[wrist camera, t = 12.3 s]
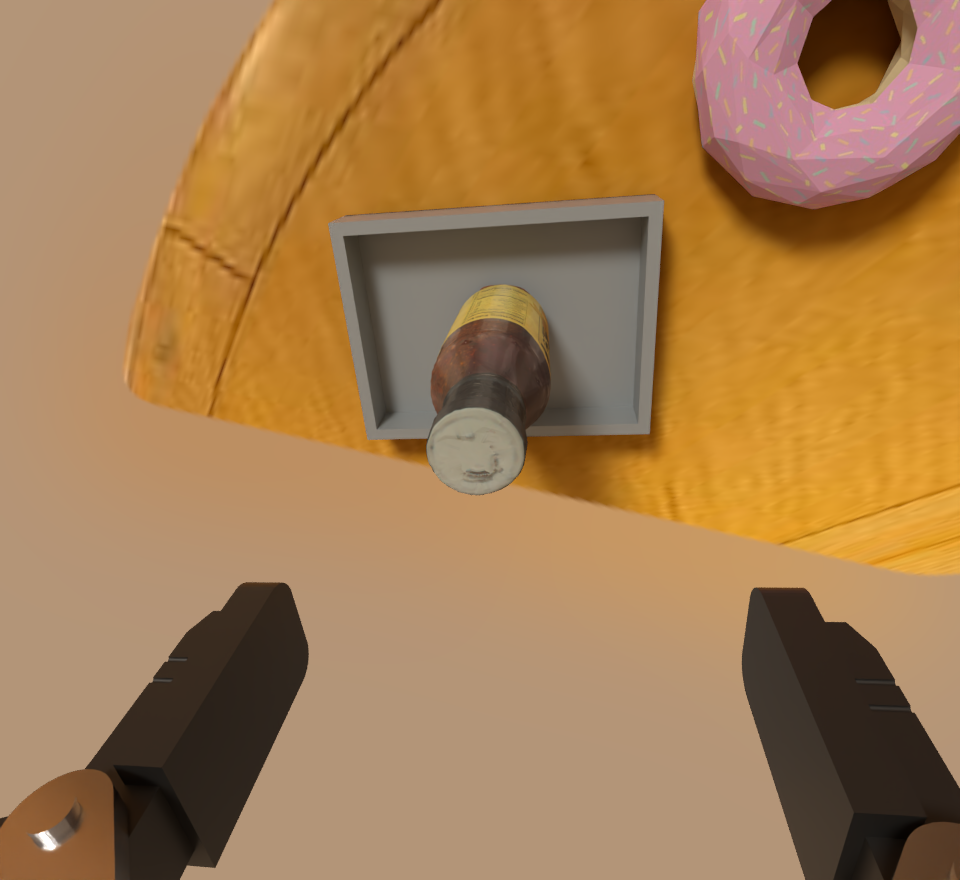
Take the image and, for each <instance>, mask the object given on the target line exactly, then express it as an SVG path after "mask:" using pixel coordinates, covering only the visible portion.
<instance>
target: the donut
mask: <svg viewBox="0 0 960 880" xmlns="http://www.w3.org/2000/svg"><path fill="white" fill-rule="evenodd" d="M830 1H831V0H706V2H705V3H704V5H703V6H702V8H701V9H700V11H699V16H698V35H697V54H696V62H695V67H694V73H693V79H692V82H693V87H694V91H695V96H696V101H697V106H698V112H699V122H700V131H701V141H702V147H703V148H704V149H705V150H706V151H707V152H708V153H709V154H710V155H711V156H712V157H713V158H714V159H715V160H716V161H717V162H718V163H719V164H720V165H721V166H722V167H723V168H724V169H725V170H726V171H727V172H728V173H729V174H730V175H731V176H732V177H733V178H734V179H735V180H736V181H737V182H738V183H739V184H740V185H742V186H743V187H744V188H745V189H746V190H747V191H748V192H749V193H750V194H751V195H752V196H754V197H759V198H763V199H768V200H773V201H777V202H782V203H786V204H791V205H796V206H800V207H805V208H809V209H818V208H822V207H827V206H832V205H837V204H841V203H846V202H851V201H856V200H861V199H865V198H869V197H871V196H873V195H875V194H877V193H879V192H881V191H883V190H884V189H886V188H888V187H890V186H891V185H893V184H895V183H897V182H898V181H900V180H902V179H904V178H905V177H907V176H909V175H910V174H912V173H914V172H916V171H917V170H919V169H921V168H923V167H924V166H926V165H928V164H930V163H931V162H933V161H935V160H936V159H937V158H938V157H939V156H940V154H941V153H942V152H943V151H944V150H945V149H946V148H947V147H948V146H949V145H950V144H951V142H952V141H953V140H954V139H955V138H956V137H957V136H958V135H959V134H960V0H887V1H888V4H889V7H890V9H891V12H892V15H893V18H894V21H895V24H896V27H897V30H898V32H899V35H900V38H901V42H900V44H899V46H898V48H897V50H896V52H895V54H894V56H893V59H892V61H891V63H890V65H889V67H888V69H887V71H886V73H885V75H884V77H883V79H882V81H881V83H880V85H879V87H878V90H877V91H876V93H875V94H873V95H872V96H870V97H868V98H867V99H865V100H863V101H862V102H860V103H858V104H855V105H851V106H847V107H843V108H839V109H835V110H834V109H832V108H829V107H827V106H825V105H822V104H820V103H818V102H815V101H813V100H811V98H810V95H809V92H808V90H807V87H806V85H805V82H804V79H803V77H802V74H801V72H800V69H799V67H798V64H797V63H798V60H799V57H800V54H801V51H802V48H803V45H804V42H805V39H806V37H807V34H808V31H809V28H810V25H811V22H812V19H813V17H814V16H815V15H816V14H817V13H818V12H819V11H820V10H822V9H823V8H824V7H825V6H826V5H827V4H828V3H829V2H830Z"/></svg>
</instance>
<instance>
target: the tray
mask: <svg viewBox="0 0 960 880" xmlns="http://www.w3.org/2000/svg"><path fill="white" fill-rule="evenodd" d="M663 209H664V200H662V199H661V198H659V197H658V196H656V195H655V194H652V195H637V196H623V197H608V198H594V199H579V200H565V201H550V202H536V203H521V204H507V205H492V206H478V207H463V208H449V209H434V210H420V211H405V212H391V213H376V214H361V215H347V216H343V217H341V218H339V219H337V220H334V221H332V222H330V223H328V225H329V230H330V236H331V241H332V247H333V252H334V258H335V263H336V269H337V274H338V280H339V285H340V291H341V296H342V302H343V307H344V313H345V318H346V323H347V329H348V334H349V340H350V345H351V351H352V356H353V362H354V367H355V373H356V378H357V384H358V389H359V395H360V400H361V406H362V411H363V417H364V422H365V428H366V433H367V439H368V440H377V439H427V438H428V435H429V432H430V429H431V427H432V424H433V421H434V418H435V417H436V416H437V413H436V410H435V408H434V406H433V403H432V398H431V388H430V387H431V376H432V370H433V368H434V364H435V363H436V360H437V357H438V354H439V352H440V350H441V347H442V345H443V343H444V341H445V339H446V337H447V335H448V333H449V331H450V329H451V327H452V325H453V323H454V321H455V319H456V317H457V315H458V314H459V311H460V309H461V308H462V306H463V305H464V303H465V302H466V301H467V300H468V299H469V298H470V297H471V296H472V295H474V294H475V293H476V292H478V291H480V289H481V288H483V287H486V286H489V285H499V284H506V285H514V286H518V287H521V288H523V289H524V290H526V291H527V292H528V293H529V294H530V295H531V296H533V298H535V299H536V300H537V302H538V303H539V304H540V305H541V307H542V309H543V311H544V313H545V315H546V319H547V322H548V331H549V348H550V351H549V356H550V373H551V390H550V396H549V400H548V403H547V406H546V408H545V410H544V412H543V413H542V414H541V416H540V417H539V418H538V419H537V421H535V422H534V423H533V424H532V425H531V426H530V427H528V428H527V429H526V435H527V437H528V436H578V435H629V434H650V420H651V404H652V388H653V371H654V355H655V339H656V323H657V306H658V290H659V274H660V258H661V241H662V225H663Z"/></svg>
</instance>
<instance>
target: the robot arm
mask: <svg viewBox="0 0 960 880" xmlns="http://www.w3.org/2000/svg"><path fill="white" fill-rule="evenodd" d="M308 655H309V653H308V644H307V640H306V637H305V634H304V630H303V627H302V624H301V621H300V618H299V614H298V611H297V608H296V605H295V602H294V598H293V595H292V592H291V589H290V588H289V586H288V585H287V584H285V583H257V582H253V583H252V582H246V583H243V584H241V585H240V586H239V587H238V588H237V589H236V590H235V592H234V593H233V595H232V596H231V597H230V599H229V600H228V602H227V603H226V604H225V606H224V607H223V609H222V610H221V611H213V612H211V613H210V614H209V615H208V616H206V617H205V618H204V619H203V620H201V621H200V622H199V623H198V624H197V625H195V626H194V627H193V628H191V629H190V630H189V631H188V632H187V633H186V634H185V635H184V637H183V638H182V640H181V641H180V642H179V643H178V645H177V646H176V648H175V649H174V650H173V652H172V653H171V654H170V656H169V660H168V662H164V664H163V665H162V667H161V668H160V669H159V670H158V672H157V673H156V675H155V676H154V677H153V678H154V679H153V682H152V683H149V684H148V685H147V687H146V688H145V689H144V691H143V692H142V693H141V695H140V696H139V697H138V699H137V700H136V701H135V703H134V704H133V705H132V707H131V708H130V710H129V711H128V712H127V714H126V715H125V716H124V718H123V719H122V720H121V722H120V723H119V724H118V726H117V727H116V728H115V730H114V731H113V732H112V734H111V735H110V736H109V738H108V739H107V740H106V742H105V743H104V744H103V746H102V747H101V749H100V750H99V751H98V753H97V754H96V755H95V757H94V758H93V759H92V761H91V762H90V763H89V764H88V766H87V767H86V768H85V769H83V770H77V771H73V772H70V773H67V774H64V775H62V776H59V777H57V778H55V779H53V780H51V781H49V782H48V783H46V784H45V785H43V786H41V787H40V788H38V789H37V790H36V791H34V792H33V793H32V794H30V795H29V796H28V797H27V798H26V799H25V800H23V801H22V802H21V803H20V804H19V805H18V806H17V807H16V808H15V810H14V811H13V812H12V813H11V814H10V815H9V816H8V817H4V818H0V880H180V878H181V876H182V874H183V872H184V870H185V868H186V866H187V865H190V866H201V867H212V868H215V867H216V865H217V863H218V861H219V859H220V856H221V854H222V852H223V850H224V848H225V846H226V843H227V842H228V839H229V837H230V835H231V833H232V831H233V829H234V827H235V824H236V822H237V820H238V818H239V816H240V814H241V812H242V810H243V807H244V805H245V803H246V801H247V799H248V797H249V795H250V793H251V790H252V788H253V786H254V784H255V782H256V780H257V778H258V776H259V773H260V771H261V769H262V767H263V765H264V763H265V760H266V758H267V756H268V754H269V752H270V750H271V748H272V746H273V743H274V741H275V739H276V737H277V735H278V733H279V731H280V729H281V727H282V724H283V722H284V720H285V718H286V716H287V714H288V711H289V710H290V707H291V705H292V703H293V701H294V699H295V696H296V695H297V692H298V690H299V688H300V686H301V684H302V682H303V679H304V677H305V674H306V670H307V665H308ZM742 673H743V681H744V686H745V691H746V695H747V698H748V701H749V705H750V708H751V711H752V714H753V717H754V720H755V724H756V727H757V729H758V733H759V736H760V739H761V742H762V745H763V749H764V752H765V755H766V758H767V761H768V764H769V767H770V770H771V773H772V776H773V780H774V783H775V786H776V789H777V792H778V795H779V798H780V802H781V805H782V808H783V811H784V814H785V817H786V820H787V824H788V827H789V830H790V833H791V836H792V839H793V842H794V845H795V849H796V852H797V855H798V858H799V861H800V864H801V867H802V870H803V874H804V876H805V880H960V788H959V786H958V785H957V783H956V781H955V780H954V778H953V776H952V775H951V773H950V771H949V770H948V768H947V766H946V765H945V763H944V761H943V760H942V758H941V756H940V755H939V753H938V751H937V750H936V748H935V746H934V744H933V743H932V741H931V739H930V738H929V736H928V734H927V733H926V731H925V729H924V728H923V726H922V725H921V723H920V721H919V719H918V718H917V716H916V714H915V713H912V712H911V709H910V704H909V703H908V701H907V699H906V698H905V696H904V694H903V692H902V691H901V689H900V687H899V686H896V685H895V679H894V677H893V676H892V674H891V673H890V671H889V669H888V667H887V666H886V664H885V662H884V661H883V659H882V657H881V656H880V654H879V652H878V651H877V649H876V648H875V647H874V646H873V645H872V644H870V643H869V642H868V641H867V640H866V639H865V638H864V637H862V636H861V635H860V634H859V633H858V632H856V631H855V630H854V629H853V628H852V627H851V626H850V625H849V624H847V623H846V622H825V621H824V619H823V618H822V616H821V614H820V612H819V610H818V608H817V606H816V604H815V602H814V600H813V598H812V597H811V595H810V593H809V592H808V591H807V590H806V589H805V588H754V589H753V590H752V592H751V596H750V602H749V609H748V616H747V623H746V631H745V638H744V645H743V653H742Z"/></svg>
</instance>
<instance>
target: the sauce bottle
mask: <svg viewBox="0 0 960 880" xmlns="http://www.w3.org/2000/svg"><path fill="white" fill-rule="evenodd" d="M549 351H550V348H549V331H548V322H547V319H546V315H545V313H544V311H543V309H542V307H541V305H540V304H539V303H538V302H537V300H536V299H535V298H533V296H531V295H530V294H529V293H528V292H527V291H526V290H524V289H523V288H521V287H518V286H514V285H506V284H499V285H489V286H486V287H483V288H481V289H480V291H478V292H476V293H475V294H474V295H472V296H471V297H470V298H469V299H468V300H467V301H466V302H465V303H464V305H463V306H462V308H461V309H460V311H459V314H458V315H457V317H456V319H455V321H454V323H453V325H452V327H451V329H450V331H449V333H448V335H447V337H446V339H445V341H444V343H443V345H442V347H441V350H440V352H439V354H438V357H437V360H436V363H435V364H434V368H433V370H432V376H431V387H430V388H431V398H432V403H433V406H434V408H435V410H436V413H437V416H436V417H435V418H434V421H433V424H432V427H431V429H430V432H429V435H428V439H427V444H426V452H427V458H428V461H429V464H430V466H431V467H432V469H433V471H434V473H435V474H436V475H437V476H438V478H439V479H440V480H441V481H442V482H443V483H444V484H446V485H447V486H449V487H450V488H452V489H454V490H457V491H458V492H461V493H466V494H470V495H484V494H488V493H492V492H495V491H498V490H501V489H503V488H504V487H506V486H508V485H509V484H510V483H512V482H513V480H514V479H515V478H516V477H517V476H518V475H519V474H520V472H521V470H522V468H523V465H524V461H525V455H526V450H527V443H528V442H527V435H526V429H527V428H528V427H530V426H531V425H532V424H533V423H534V422H535V421H537V419H538V418H539V417H540V416H541V414H542V413H543V412H544V410H545V408H546V406H547V403H548V400H549V396H550V390H551V373H550V356H549Z"/></svg>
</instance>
